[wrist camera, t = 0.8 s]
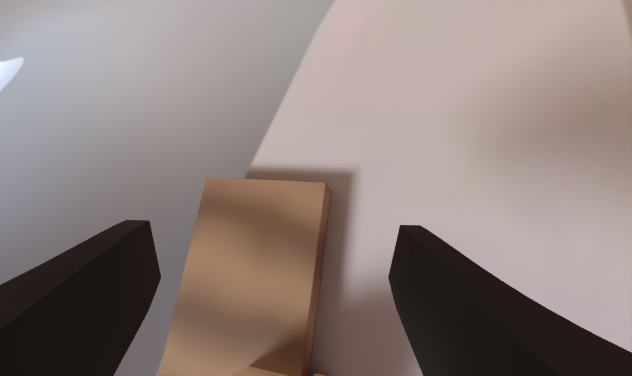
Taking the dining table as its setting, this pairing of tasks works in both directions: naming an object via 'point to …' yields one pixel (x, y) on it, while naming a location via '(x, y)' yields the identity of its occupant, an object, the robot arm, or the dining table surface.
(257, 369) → the tan wood block
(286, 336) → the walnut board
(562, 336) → the robot arm
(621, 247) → the dining table surface
